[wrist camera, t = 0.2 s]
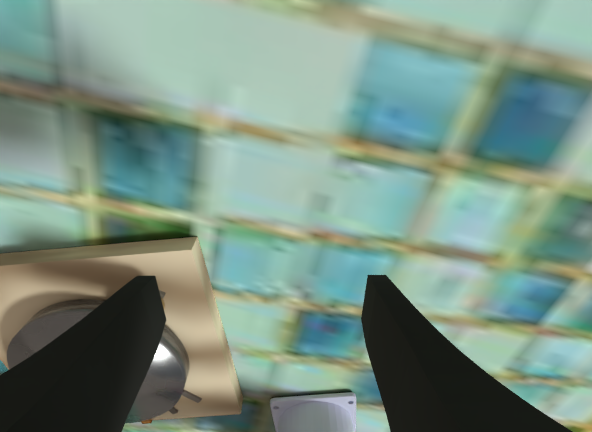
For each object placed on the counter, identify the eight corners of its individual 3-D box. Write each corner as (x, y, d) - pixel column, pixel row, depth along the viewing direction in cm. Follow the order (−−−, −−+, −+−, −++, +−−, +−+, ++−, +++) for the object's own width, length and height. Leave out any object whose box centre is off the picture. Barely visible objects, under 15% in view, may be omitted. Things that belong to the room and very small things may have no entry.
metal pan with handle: (146, 427, 29) (111, 523, 23) (1, 382, 25) (-81, 481, 20) (242, 313, 22) (226, 407, 17) (65, 230, 19) (-33, 314, 13)
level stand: (243, 397, 30) (240, 416, 28) (65, 410, 30) (54, 429, 29) (197, 236, 21) (190, 252, 20) (-50, 257, 22) (-76, 274, 20)
